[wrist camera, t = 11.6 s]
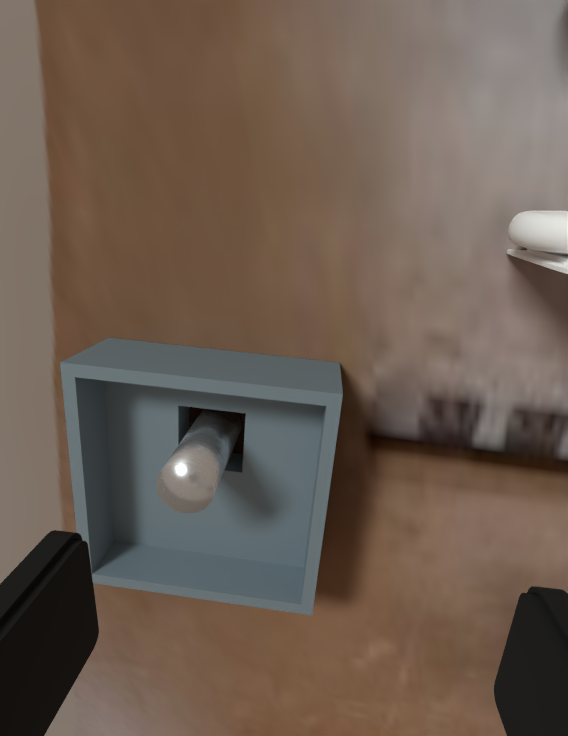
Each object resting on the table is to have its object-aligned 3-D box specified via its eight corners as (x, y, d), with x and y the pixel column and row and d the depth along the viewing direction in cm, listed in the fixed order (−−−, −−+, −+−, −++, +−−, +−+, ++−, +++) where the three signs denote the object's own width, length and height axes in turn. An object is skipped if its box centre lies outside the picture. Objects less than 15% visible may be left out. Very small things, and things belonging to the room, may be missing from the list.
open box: (339, 362, 35) (343, 394, 28) (314, 553, 41) (312, 615, 35) (108, 337, 36) (60, 362, 29) (119, 526, 43) (81, 581, 36)
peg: (240, 445, 38) (212, 516, 29) (197, 440, 38) (156, 509, 29) (242, 406, 37) (214, 467, 28) (198, 400, 37) (155, 459, 28)
